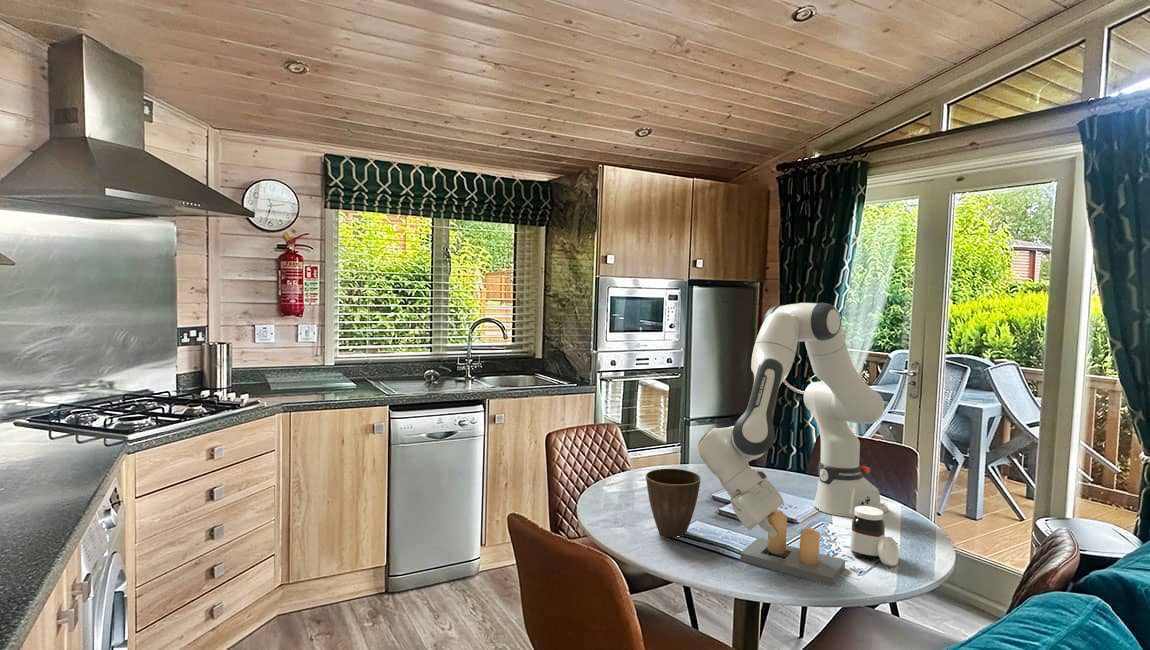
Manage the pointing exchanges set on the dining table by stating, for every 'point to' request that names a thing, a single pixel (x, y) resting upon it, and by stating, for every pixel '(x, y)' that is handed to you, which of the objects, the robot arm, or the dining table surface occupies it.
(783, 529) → the orange peg
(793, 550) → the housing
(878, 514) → the spread jar
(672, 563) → the dining table surface
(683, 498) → the plant pot
